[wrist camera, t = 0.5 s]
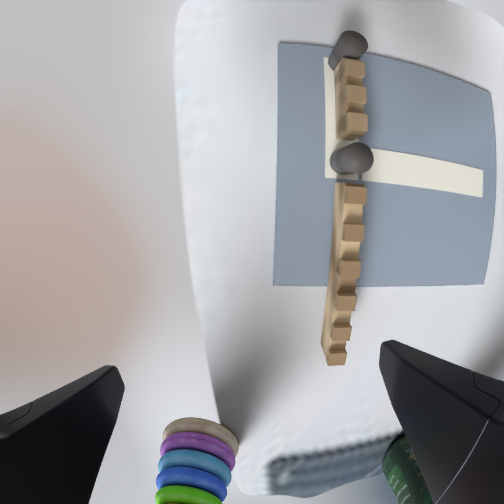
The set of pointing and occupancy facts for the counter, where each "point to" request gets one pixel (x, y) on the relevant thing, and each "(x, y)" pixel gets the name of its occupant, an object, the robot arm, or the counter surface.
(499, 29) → the counter surface
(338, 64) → the fixed fence section
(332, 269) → the folding fence panel
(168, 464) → the stacking toy
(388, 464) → the coffee jar
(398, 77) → the card
